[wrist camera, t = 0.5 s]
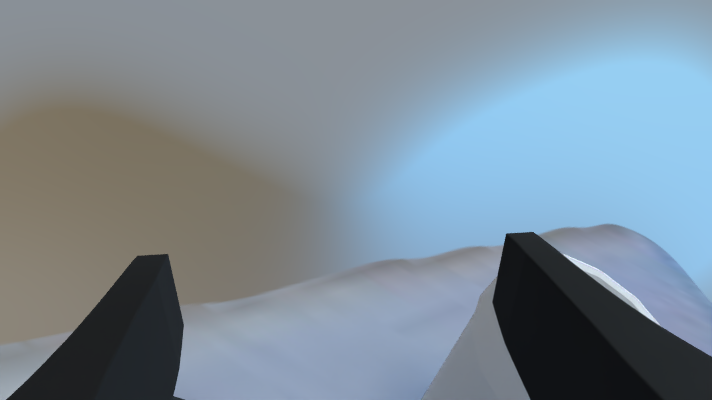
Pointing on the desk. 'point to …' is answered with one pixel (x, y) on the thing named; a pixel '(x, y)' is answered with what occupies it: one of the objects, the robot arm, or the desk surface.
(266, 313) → the desk surface
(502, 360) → the foam cup
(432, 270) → the desk surface
